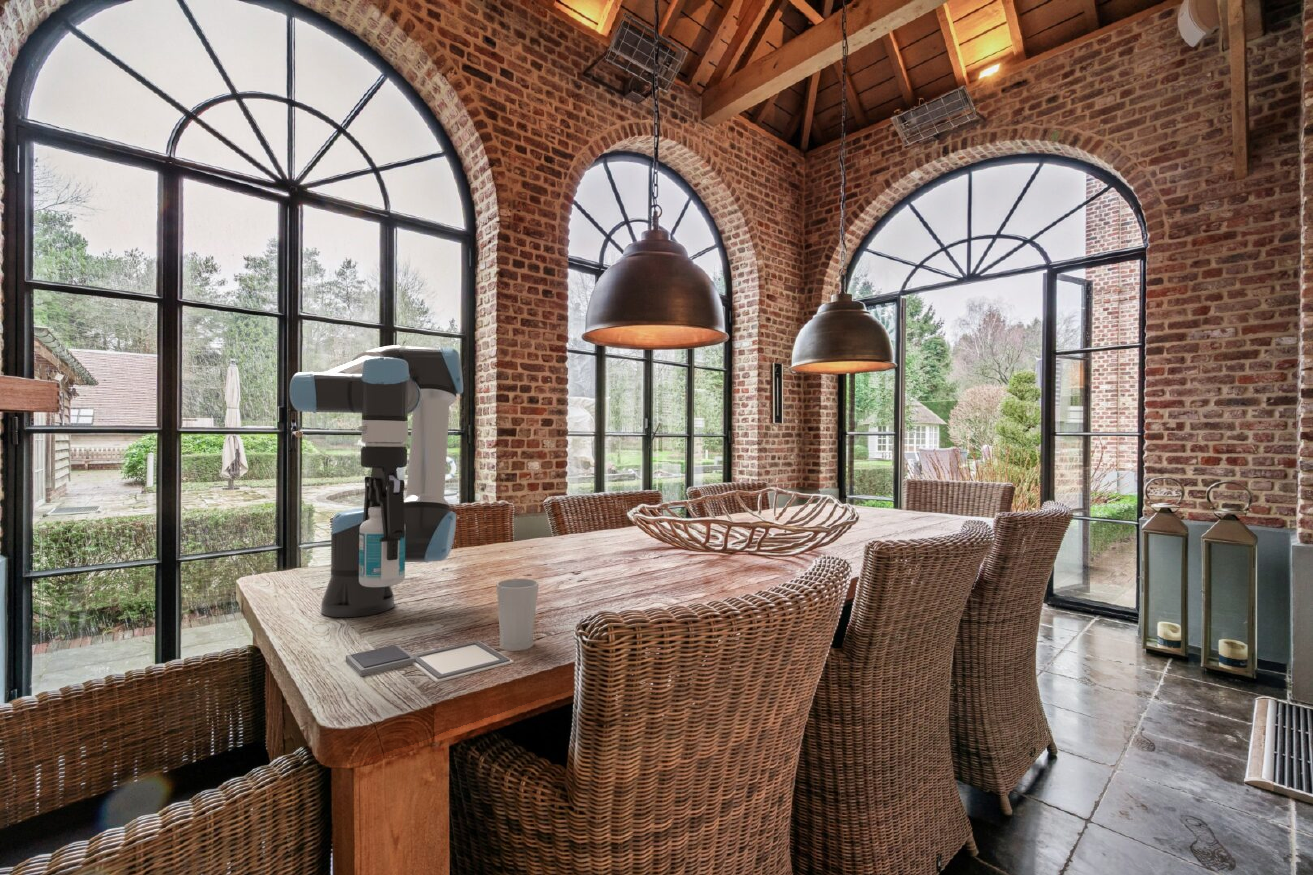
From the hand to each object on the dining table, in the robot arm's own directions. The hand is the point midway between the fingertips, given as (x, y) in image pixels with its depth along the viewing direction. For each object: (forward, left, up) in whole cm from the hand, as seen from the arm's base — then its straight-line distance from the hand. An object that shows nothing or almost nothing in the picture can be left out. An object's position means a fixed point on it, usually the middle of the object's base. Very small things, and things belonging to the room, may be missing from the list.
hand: (382, 574), depth 107 cm
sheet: (+8, +11, -16) cm, 21 cm away
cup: (+7, +23, -16) cm, 29 cm away
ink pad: (0, 0, -16) cm, 16 cm away
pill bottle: (0, 0, -2) cm, 2 cm away
